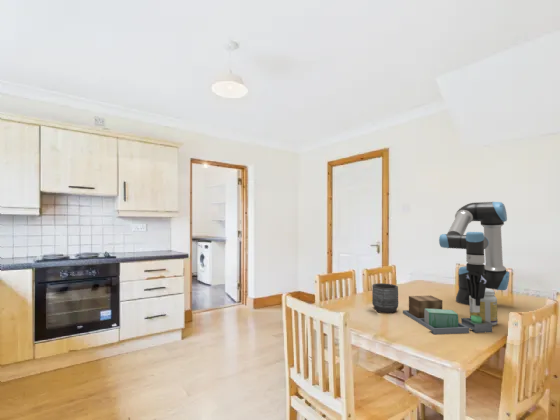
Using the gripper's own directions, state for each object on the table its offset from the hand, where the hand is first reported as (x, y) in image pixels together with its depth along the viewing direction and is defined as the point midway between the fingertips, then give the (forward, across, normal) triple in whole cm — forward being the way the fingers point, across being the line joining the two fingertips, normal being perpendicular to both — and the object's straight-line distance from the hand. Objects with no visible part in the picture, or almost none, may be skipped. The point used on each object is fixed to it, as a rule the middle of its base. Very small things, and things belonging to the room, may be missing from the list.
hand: (476, 311), depth 148 cm
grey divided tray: (+8, -10, -16) cm, 21 cm away
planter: (+9, -31, -32) cm, 45 cm away
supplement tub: (+9, -9, +11) cm, 17 cm away
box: (+8, -3, -16) cm, 18 cm away
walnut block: (+7, -17, -16) cm, 24 cm away
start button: (+6, 0, 0) cm, 6 cm away
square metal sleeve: (+8, 0, 0) cm, 8 cm away
